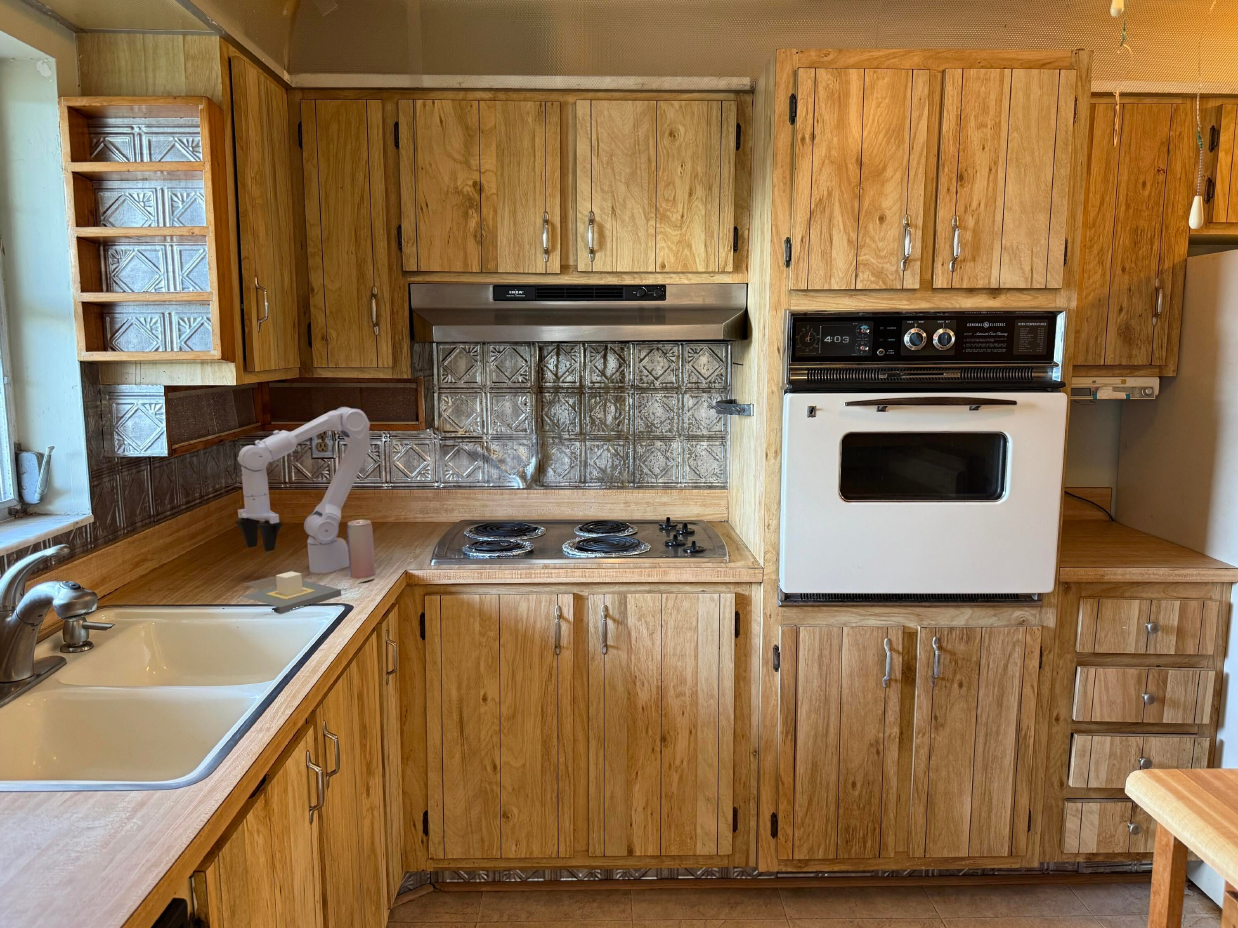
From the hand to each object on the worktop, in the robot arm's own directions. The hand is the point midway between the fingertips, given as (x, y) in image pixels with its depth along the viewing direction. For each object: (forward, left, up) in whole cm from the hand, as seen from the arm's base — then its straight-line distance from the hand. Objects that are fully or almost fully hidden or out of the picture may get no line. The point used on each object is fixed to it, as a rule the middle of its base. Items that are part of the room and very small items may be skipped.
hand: (261, 548), depth 214 cm
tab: (+1, +3, -9) cm, 10 cm away
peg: (+3, +16, -10) cm, 19 cm away
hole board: (+3, +16, -9) cm, 19 cm away
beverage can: (-16, +18, -10) cm, 26 cm away
